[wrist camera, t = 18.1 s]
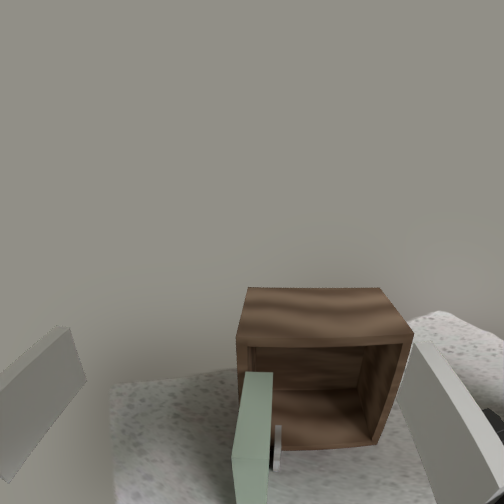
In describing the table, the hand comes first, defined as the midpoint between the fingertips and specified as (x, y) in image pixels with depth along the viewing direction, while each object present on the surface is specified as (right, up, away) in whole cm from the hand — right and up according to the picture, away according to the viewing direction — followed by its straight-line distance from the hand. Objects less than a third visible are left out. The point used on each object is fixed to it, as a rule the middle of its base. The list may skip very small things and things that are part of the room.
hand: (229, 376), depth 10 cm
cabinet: (+9, -23, +30) cm, 39 cm away
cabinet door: (+1, -26, +20) cm, 32 cm away
